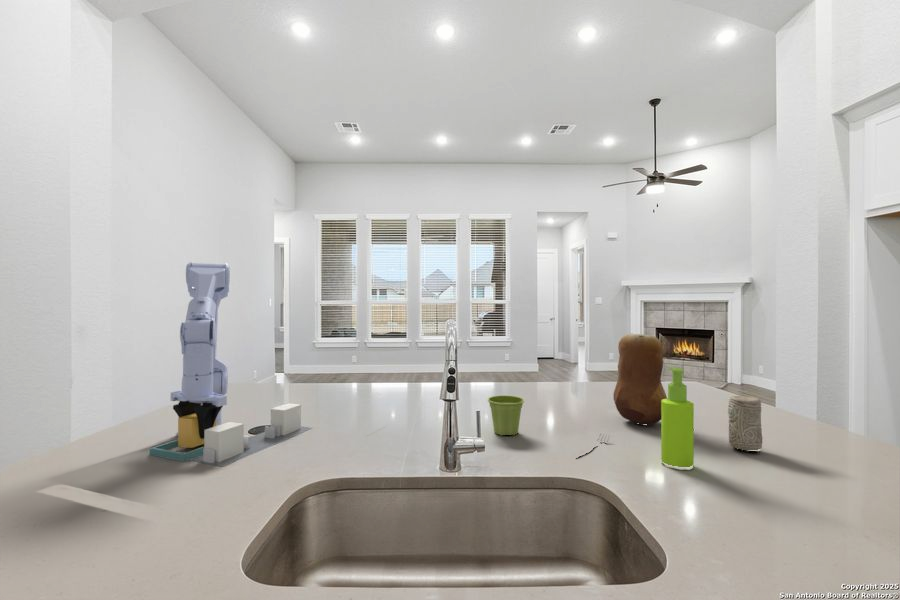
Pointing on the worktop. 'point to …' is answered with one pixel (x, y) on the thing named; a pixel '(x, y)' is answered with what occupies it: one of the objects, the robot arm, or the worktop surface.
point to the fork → (604, 438)
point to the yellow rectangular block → (189, 431)
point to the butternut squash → (639, 379)
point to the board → (250, 445)
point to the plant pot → (506, 413)
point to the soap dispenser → (677, 424)
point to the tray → (166, 453)
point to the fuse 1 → (225, 440)
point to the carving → (745, 423)
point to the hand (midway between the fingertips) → (197, 436)
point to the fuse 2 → (287, 417)
